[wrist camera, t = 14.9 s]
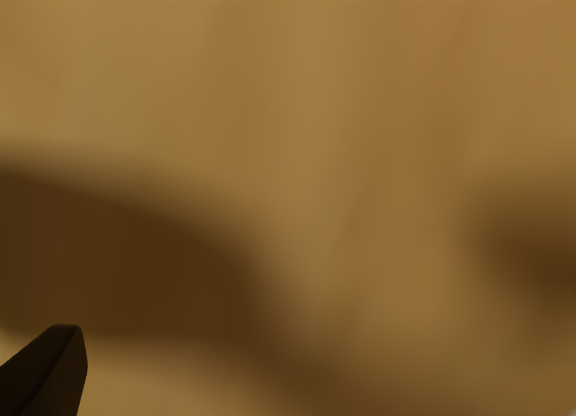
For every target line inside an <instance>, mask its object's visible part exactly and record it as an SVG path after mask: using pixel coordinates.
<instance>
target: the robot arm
mask: <svg viewBox="0 0 576 416" xmlns="http://www.w3.org/2000/svg"><path fill="white" fill-rule="evenodd" d="M87 369H88V361H87V355H86V350H85V344H84V339H83V333H82V330H81V328H80V327H79V326H78V325H66V324H56V325H53V326H51V327H49V328H48V329H47V330H45V331H44V332H43V333H42V334H40V335H39V336H38V337H37V338H35V339H34V340H33V341H32V342H30V343H29V344H28V345H27V346H25V347H24V348H23V349H22V350H20V351H19V352H18V353H17V354H15V355H14V356H13V357H12V358H10V359H9V360H8V361H7V362H5V363H4V364H3V365H2V366H0V416H77V412H78V408H79V404H80V400H81V396H82V392H83V388H84V384H85V380H86V376H87Z"/></svg>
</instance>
